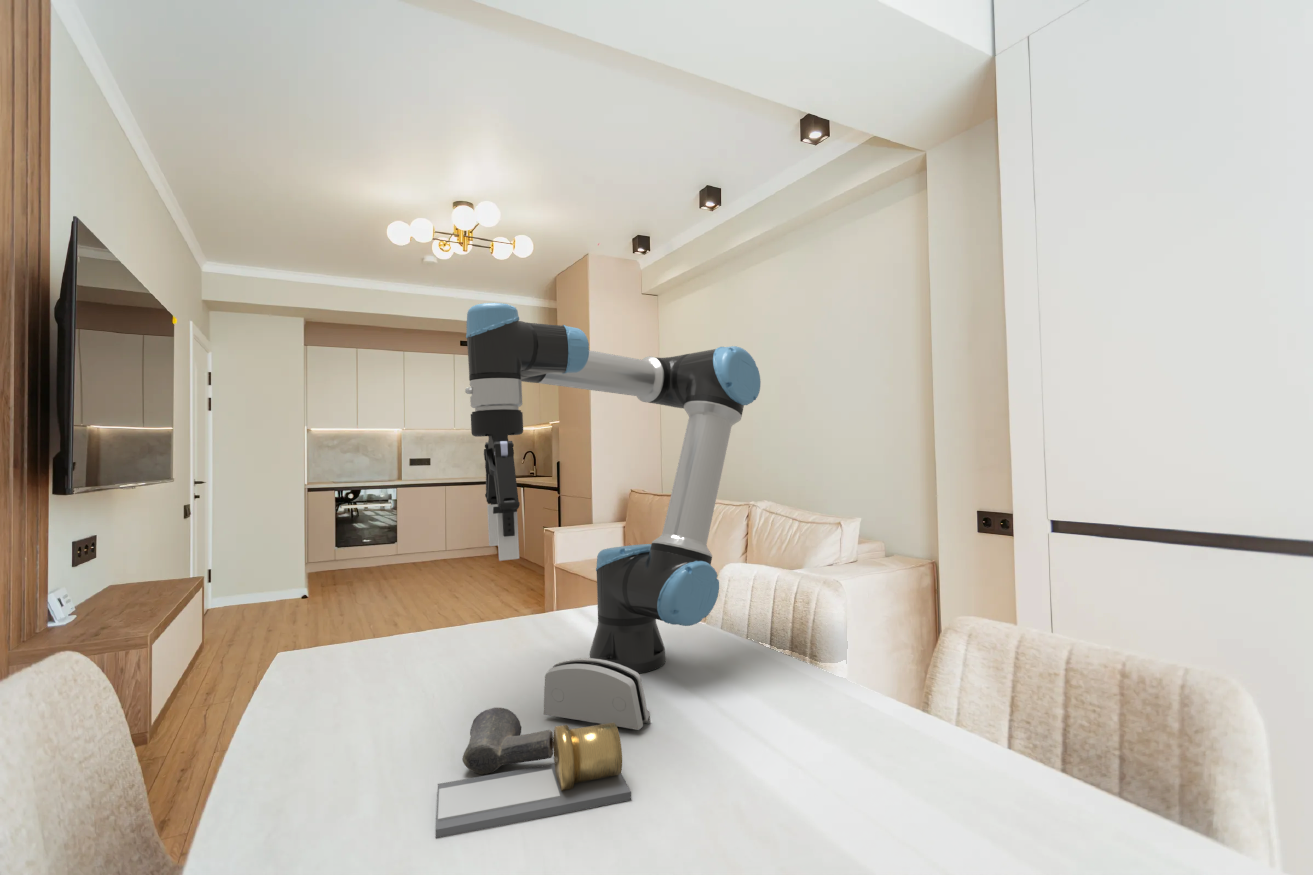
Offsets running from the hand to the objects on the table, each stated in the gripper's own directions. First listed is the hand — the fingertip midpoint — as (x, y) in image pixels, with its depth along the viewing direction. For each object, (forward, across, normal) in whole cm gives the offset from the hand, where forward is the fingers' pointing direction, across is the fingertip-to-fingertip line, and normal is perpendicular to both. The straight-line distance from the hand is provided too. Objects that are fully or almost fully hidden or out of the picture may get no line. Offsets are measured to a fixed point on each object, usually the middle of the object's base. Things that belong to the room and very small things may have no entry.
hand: (503, 551), depth 93 cm
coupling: (+27, +19, +8) cm, 34 cm away
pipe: (+25, +13, -3) cm, 28 cm away
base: (+27, +18, 0) cm, 33 cm away
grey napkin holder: (+28, +1, +13) cm, 31 cm away
